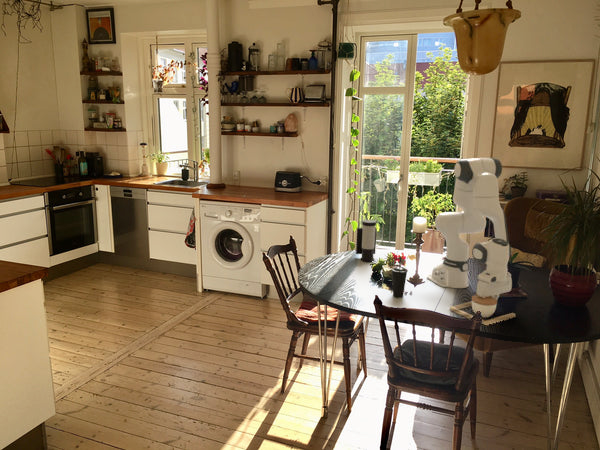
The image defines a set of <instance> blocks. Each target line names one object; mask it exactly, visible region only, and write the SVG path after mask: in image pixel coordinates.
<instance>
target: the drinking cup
mask: <svg viewBox="0 0 600 450" xmlns="http://www.w3.org/2000/svg"><path fill="white" fill-rule="evenodd" d="M398 262H399V265H398V266H394V267H392V268H391V273H392V296H393V297H394V298H399V299H401V298H403V297H404V293H405V286H406V281H407V273H408V269H407V268H405V267H403V266H401V265H402V264H401V263H402V256H400V257H399V261H398Z"/></svg>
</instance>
